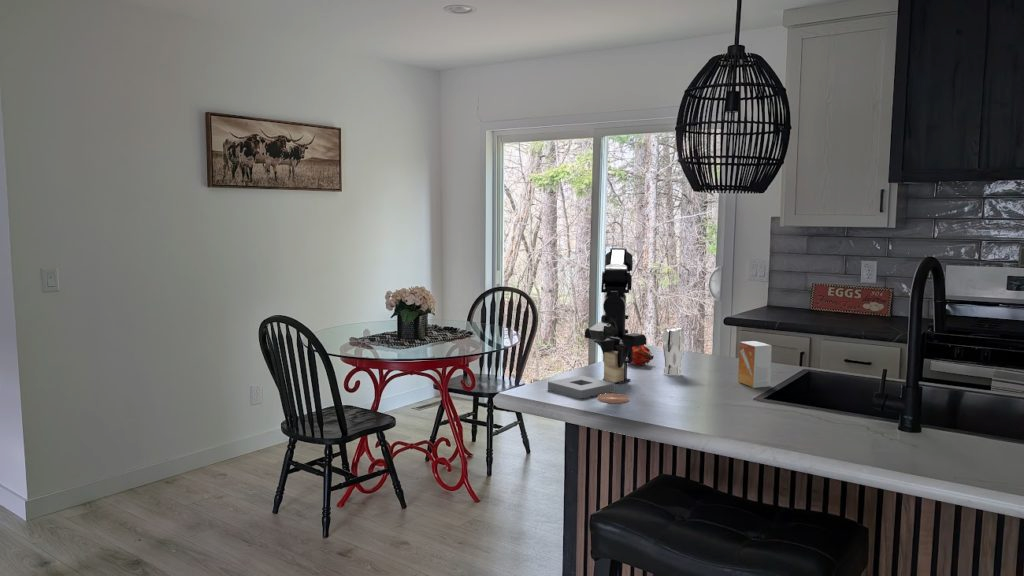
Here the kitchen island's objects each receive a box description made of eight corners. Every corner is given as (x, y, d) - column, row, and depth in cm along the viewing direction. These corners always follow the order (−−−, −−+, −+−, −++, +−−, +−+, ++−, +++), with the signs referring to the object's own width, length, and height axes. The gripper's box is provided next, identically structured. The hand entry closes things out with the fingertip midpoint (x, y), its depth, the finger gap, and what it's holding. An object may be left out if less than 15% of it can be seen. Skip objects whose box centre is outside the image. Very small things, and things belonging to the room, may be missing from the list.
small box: (737, 382, 230) (739, 341, 229) (754, 381, 232) (756, 340, 231) (753, 388, 222) (754, 345, 221) (770, 386, 224) (772, 345, 223)
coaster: (612, 393, 214) (612, 391, 214) (636, 399, 207) (636, 397, 207) (591, 398, 209) (591, 396, 209) (614, 405, 202) (614, 402, 202)
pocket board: (580, 383, 228) (580, 375, 227) (614, 391, 217) (614, 383, 217) (547, 389, 219) (547, 381, 219) (581, 399, 208) (581, 390, 208)
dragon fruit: (629, 365, 263) (648, 376, 252) (614, 353, 259) (633, 364, 248) (642, 346, 263) (662, 356, 253) (628, 334, 259) (648, 344, 249)
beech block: (613, 378, 210) (613, 350, 210) (623, 380, 207) (624, 352, 206) (603, 379, 208) (604, 352, 207) (614, 382, 205) (614, 354, 204)
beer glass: (686, 373, 242) (687, 328, 241) (679, 377, 236) (680, 331, 235) (666, 371, 246) (667, 327, 244) (658, 374, 240) (660, 329, 239)
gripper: (571, 310, 207) (570, 364, 209) (621, 318, 193) (619, 376, 195) (598, 307, 215) (597, 359, 216) (648, 314, 200) (646, 370, 202)
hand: (614, 366), depth 207 cm, fingers closed on beech block, 4 cm apart
